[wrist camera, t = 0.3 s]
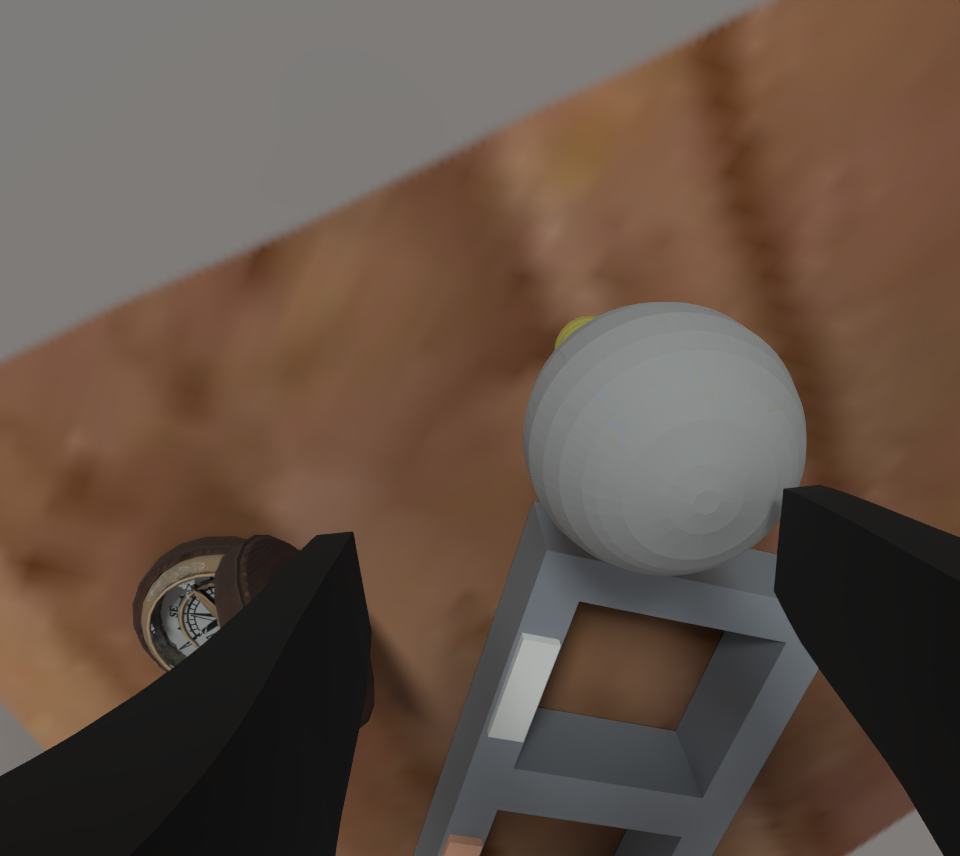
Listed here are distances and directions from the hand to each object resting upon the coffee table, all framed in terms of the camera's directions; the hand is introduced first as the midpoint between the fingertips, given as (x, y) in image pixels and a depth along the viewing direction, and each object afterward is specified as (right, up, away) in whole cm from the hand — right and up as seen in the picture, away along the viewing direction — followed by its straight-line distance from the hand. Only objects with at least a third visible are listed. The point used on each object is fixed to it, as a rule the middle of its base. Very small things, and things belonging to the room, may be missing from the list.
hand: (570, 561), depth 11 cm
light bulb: (+2, +5, +9) cm, 11 cm away
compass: (-9, -4, +13) cm, 16 cm away
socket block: (+3, -10, +15) cm, 18 cm away
